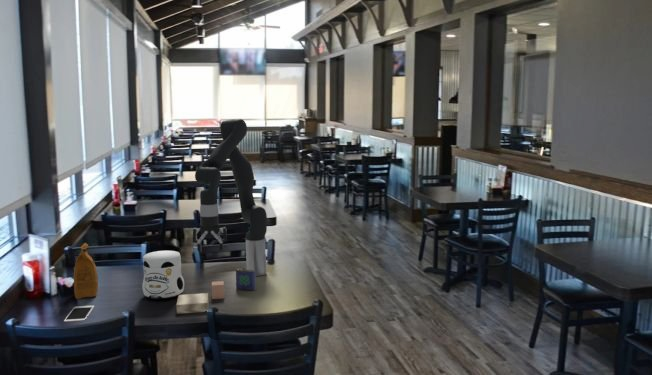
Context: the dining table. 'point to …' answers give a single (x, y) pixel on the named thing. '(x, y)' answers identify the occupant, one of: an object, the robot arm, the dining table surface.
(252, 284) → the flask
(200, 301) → the maple base
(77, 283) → the coffee package
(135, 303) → the dining table surface
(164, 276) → the milk container
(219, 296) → the terracotta block
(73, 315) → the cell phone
